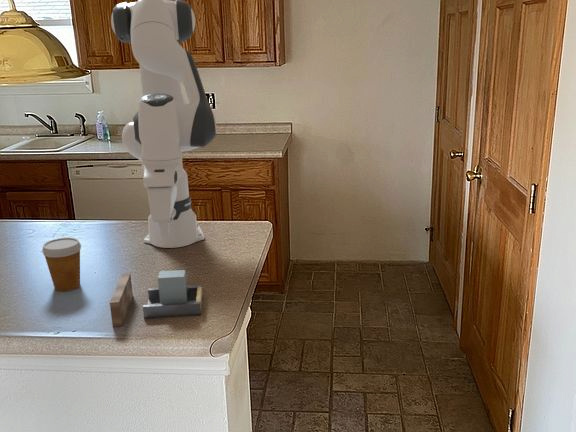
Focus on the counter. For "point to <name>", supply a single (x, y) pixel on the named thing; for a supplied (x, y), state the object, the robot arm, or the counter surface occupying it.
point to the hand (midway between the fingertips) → (167, 228)
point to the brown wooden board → (121, 300)
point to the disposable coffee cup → (63, 262)
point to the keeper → (174, 304)
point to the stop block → (172, 286)
